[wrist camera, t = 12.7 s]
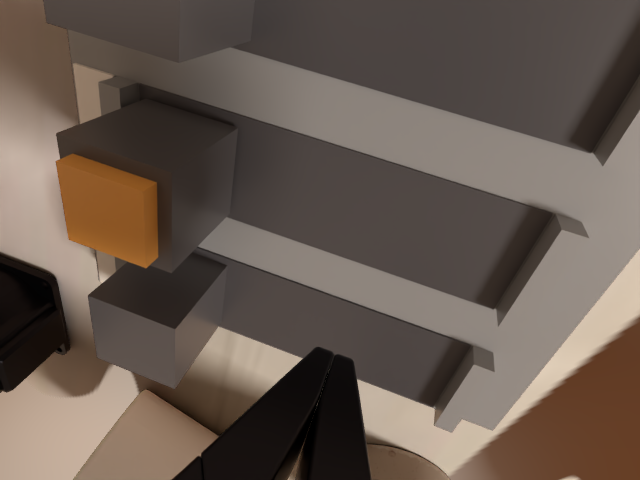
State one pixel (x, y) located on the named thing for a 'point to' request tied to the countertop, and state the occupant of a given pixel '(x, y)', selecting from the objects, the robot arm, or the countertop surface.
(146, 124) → the block
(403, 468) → the thermos bottle
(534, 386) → the countertop surface
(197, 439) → the mug
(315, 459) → the robot arm
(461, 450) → the countertop surface
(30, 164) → the countertop surface
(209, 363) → the countertop surface
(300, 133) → the breaker panel
